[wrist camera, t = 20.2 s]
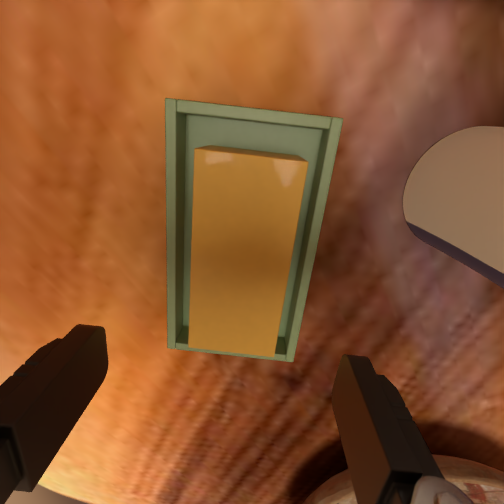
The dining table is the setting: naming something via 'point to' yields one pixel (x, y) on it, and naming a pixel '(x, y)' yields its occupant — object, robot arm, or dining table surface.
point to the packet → (242, 246)
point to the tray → (252, 138)
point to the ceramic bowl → (452, 468)
